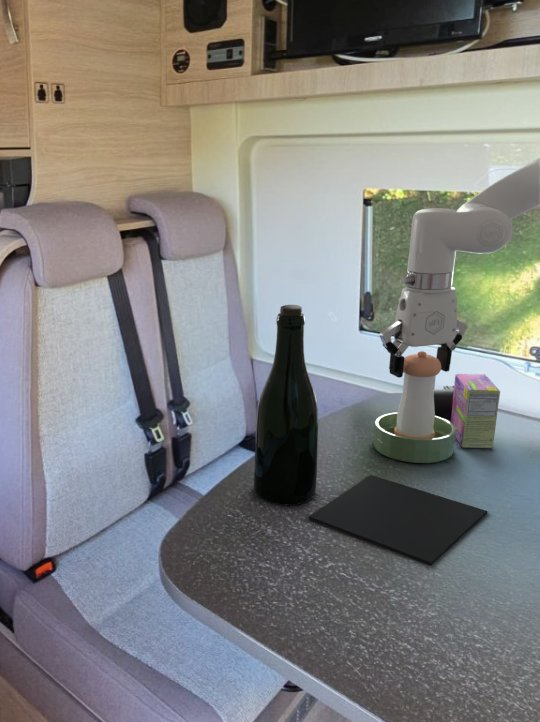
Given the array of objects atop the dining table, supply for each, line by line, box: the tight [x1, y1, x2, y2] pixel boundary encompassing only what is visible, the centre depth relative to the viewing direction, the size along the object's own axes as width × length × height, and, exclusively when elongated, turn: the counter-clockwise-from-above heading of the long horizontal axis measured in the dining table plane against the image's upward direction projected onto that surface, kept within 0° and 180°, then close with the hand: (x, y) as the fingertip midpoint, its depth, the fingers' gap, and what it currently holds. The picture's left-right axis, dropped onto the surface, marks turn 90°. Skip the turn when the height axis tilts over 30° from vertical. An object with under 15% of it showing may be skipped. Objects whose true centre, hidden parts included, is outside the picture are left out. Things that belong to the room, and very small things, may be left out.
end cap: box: [434, 385, 454, 421], centre depth 151 cm, size 10×7×7 cm
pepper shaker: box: [394, 350, 442, 439], centre depth 135 cm, size 7×7×19 cm
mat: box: [308, 474, 488, 566], centre depth 115 cm, size 20×20×1 cm
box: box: [450, 373, 501, 449], centre depth 140 cm, size 10×6×12 cm, turn 168°
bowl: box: [372, 411, 456, 464], centre depth 138 cm, size 14×14×5 cm
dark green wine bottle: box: [253, 304, 319, 506], centre depth 119 cm, size 10×10×33 cm
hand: (419, 372), depth 133 cm, fingers open, 9 cm apart
